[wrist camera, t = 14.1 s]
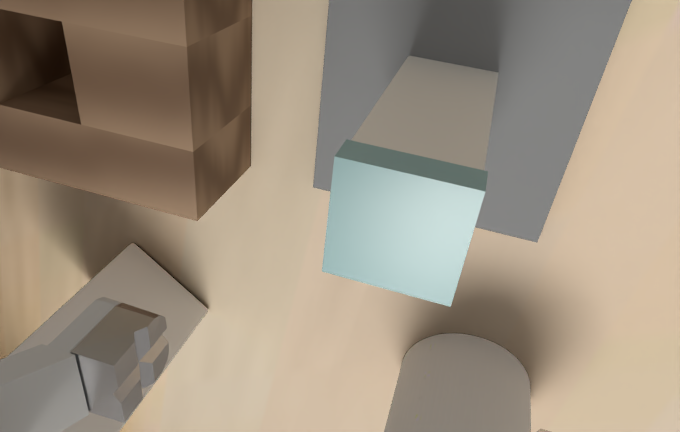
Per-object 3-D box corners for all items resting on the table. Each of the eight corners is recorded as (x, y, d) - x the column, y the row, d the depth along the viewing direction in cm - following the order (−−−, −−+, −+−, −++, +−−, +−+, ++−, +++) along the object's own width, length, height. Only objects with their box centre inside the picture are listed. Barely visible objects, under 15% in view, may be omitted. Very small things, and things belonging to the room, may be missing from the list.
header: (250, 166, 30) (197, 220, 25) (15, 108, 33) (-73, 148, 28) (252, -72, 23) (180, -59, 18) (-44, -117, 26) (-173, -117, 21)
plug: (477, 156, 25) (450, 306, 16) (392, 137, 26) (322, 271, 17) (501, 70, 23) (485, 191, 14) (406, 52, 24) (334, 156, 15)
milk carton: (163, 344, 41) (-51, 617, 26) (92, 284, 40) (-178, 535, 25) (210, 308, 38) (-8, 604, 22) (134, 240, 36) (-157, 505, 21)
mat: (536, 236, 27) (537, 242, 27) (316, 182, 29) (313, 187, 29) (633, -13, 20) (635, -10, 20) (338, -58, 23) (334, -57, 22)
